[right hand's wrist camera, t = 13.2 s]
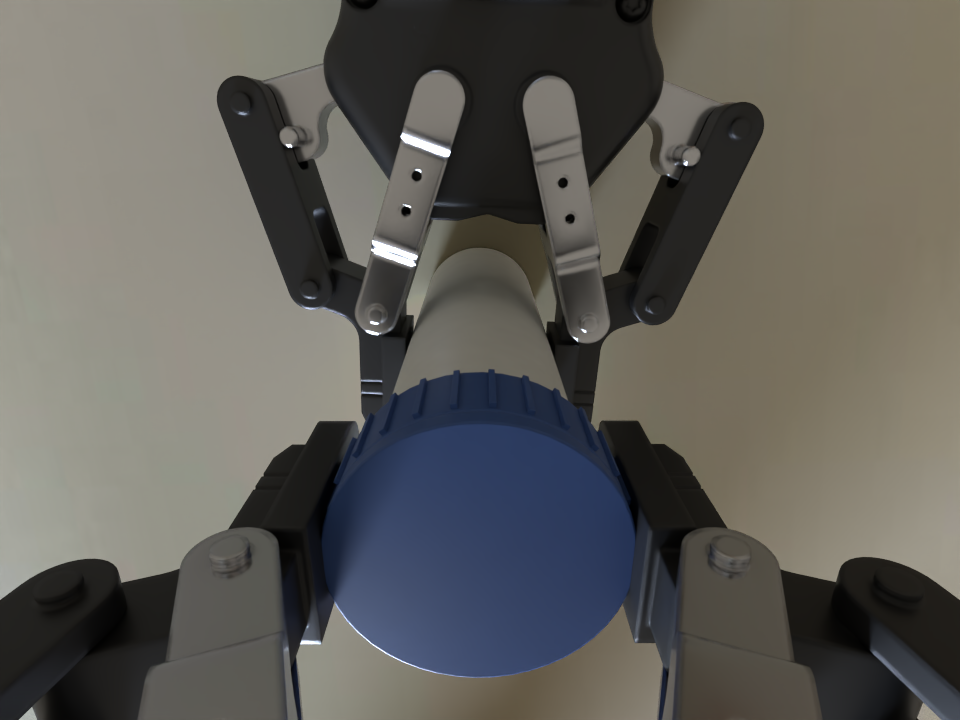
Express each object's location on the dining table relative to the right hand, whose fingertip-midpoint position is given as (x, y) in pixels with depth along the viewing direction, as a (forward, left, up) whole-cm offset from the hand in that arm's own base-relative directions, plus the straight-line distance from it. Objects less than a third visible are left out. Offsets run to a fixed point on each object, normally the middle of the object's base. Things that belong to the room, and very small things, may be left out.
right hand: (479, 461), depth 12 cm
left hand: (-1, -2, -6) cm, 7 cm away
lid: (0, 0, +3) cm, 3 cm away
